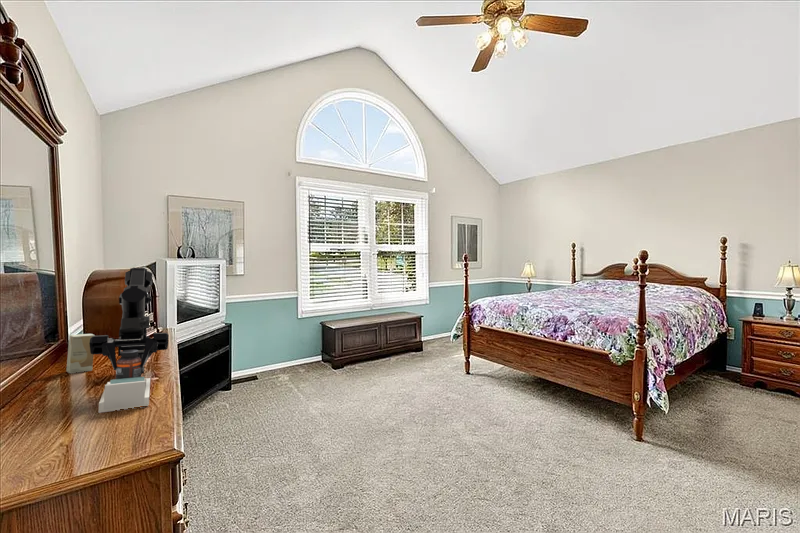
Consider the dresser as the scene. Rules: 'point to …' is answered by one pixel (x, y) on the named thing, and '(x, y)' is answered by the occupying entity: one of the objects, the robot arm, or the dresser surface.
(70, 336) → the skincare box
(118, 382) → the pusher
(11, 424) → the dresser surface
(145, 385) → the lane
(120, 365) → the supplement bottle
